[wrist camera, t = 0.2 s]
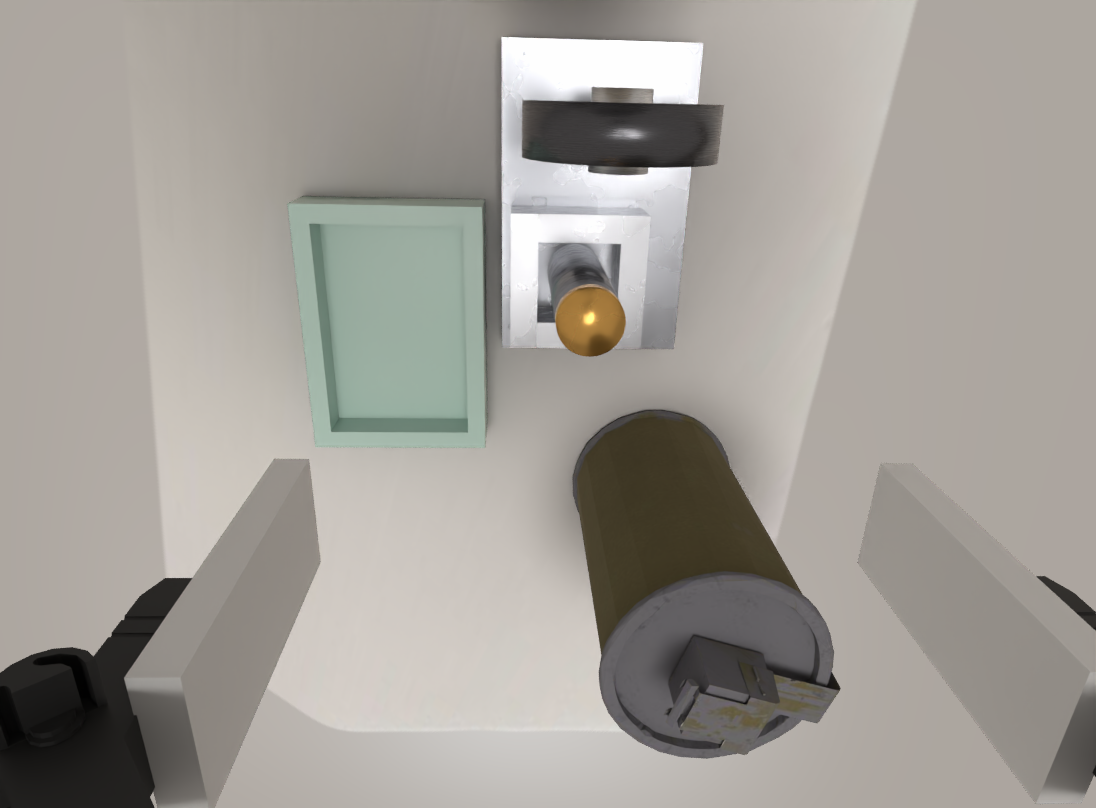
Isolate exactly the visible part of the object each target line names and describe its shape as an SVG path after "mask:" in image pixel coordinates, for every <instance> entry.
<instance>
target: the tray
mask: <svg viewBox="0 0 1096 808" xmlns="http://www.w3.org/2000/svg"><path fill="white" fill-rule="evenodd" d="M287 205H288V214H289V222H290V231H291V240H292V248H293V257H294V266H295V274H296V283H297V291H298V300H299V309H300V317H301V326H302V335H303V343H304V352H305V360H306V369H307V378H308V386H309V395H310V403H311V412H312V421H313V429H314V438H315V447H391V448H485V444H486V434H487V363H486V269H485V200H479V199H427V198H376V197H324V196H302V197H300V198H298V199H296V200H294V201H292V202H289V203H287Z"/></svg>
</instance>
